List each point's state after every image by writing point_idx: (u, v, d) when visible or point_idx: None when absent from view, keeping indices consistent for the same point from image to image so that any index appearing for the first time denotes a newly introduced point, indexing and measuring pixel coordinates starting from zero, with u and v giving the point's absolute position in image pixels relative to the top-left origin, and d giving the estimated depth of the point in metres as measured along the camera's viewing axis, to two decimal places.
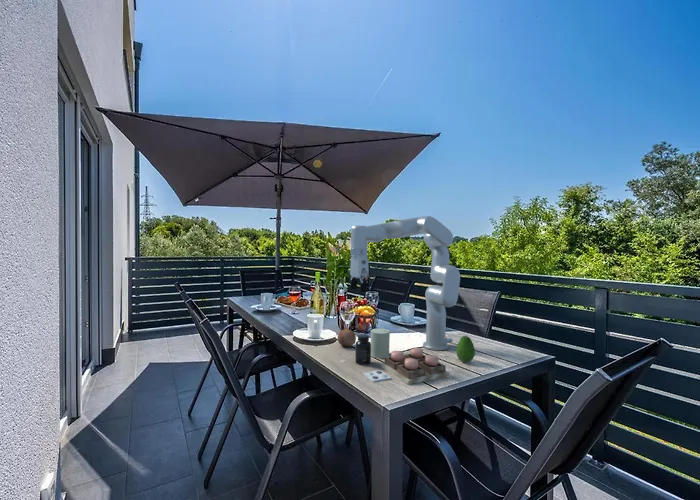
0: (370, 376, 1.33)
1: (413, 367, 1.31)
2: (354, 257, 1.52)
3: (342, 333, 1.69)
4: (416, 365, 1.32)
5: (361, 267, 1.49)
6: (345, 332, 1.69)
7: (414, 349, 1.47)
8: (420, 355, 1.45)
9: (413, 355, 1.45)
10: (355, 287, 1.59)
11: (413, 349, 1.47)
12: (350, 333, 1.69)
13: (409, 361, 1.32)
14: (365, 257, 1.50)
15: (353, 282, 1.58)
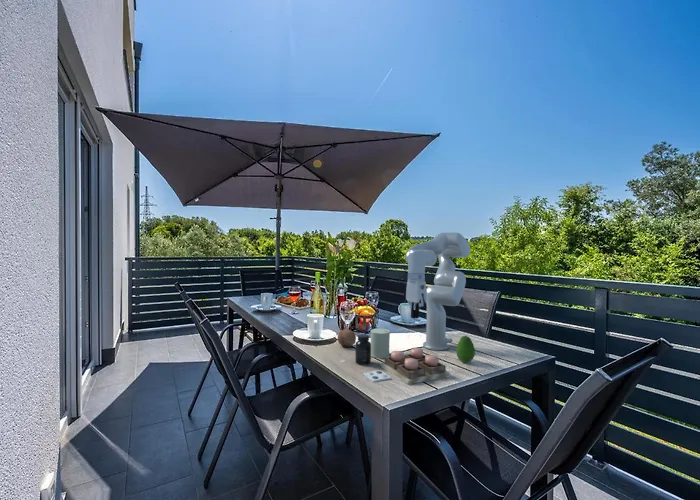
0: (370, 376, 1.33)
1: (413, 367, 1.31)
2: (412, 282, 1.51)
3: (342, 333, 1.69)
4: (416, 365, 1.32)
5: (420, 292, 1.48)
6: (345, 332, 1.69)
7: (414, 349, 1.47)
8: (420, 355, 1.45)
9: (413, 355, 1.45)
10: None
11: (413, 349, 1.47)
12: (350, 333, 1.69)
13: (409, 361, 1.32)
14: (423, 282, 1.49)
15: None
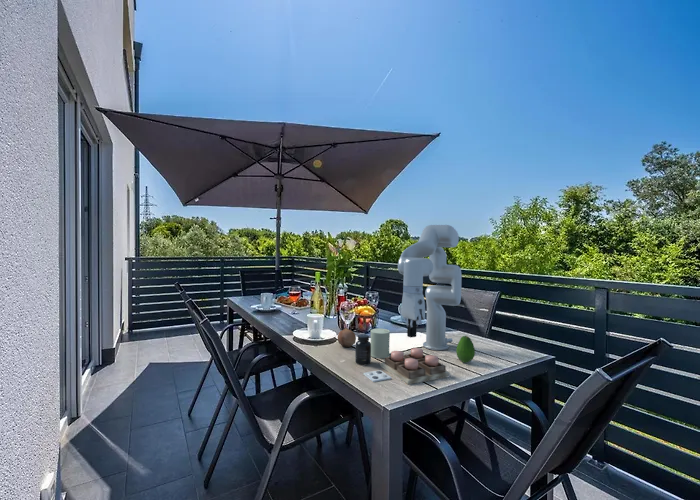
0: (370, 376, 1.33)
1: (413, 367, 1.31)
2: (408, 295, 1.31)
3: (342, 333, 1.69)
4: (416, 365, 1.32)
5: (417, 308, 1.28)
6: (345, 332, 1.69)
7: (414, 349, 1.47)
8: (420, 355, 1.45)
9: (413, 355, 1.45)
10: None
11: (413, 349, 1.47)
12: (350, 333, 1.69)
13: (409, 361, 1.32)
14: (421, 296, 1.29)
15: None
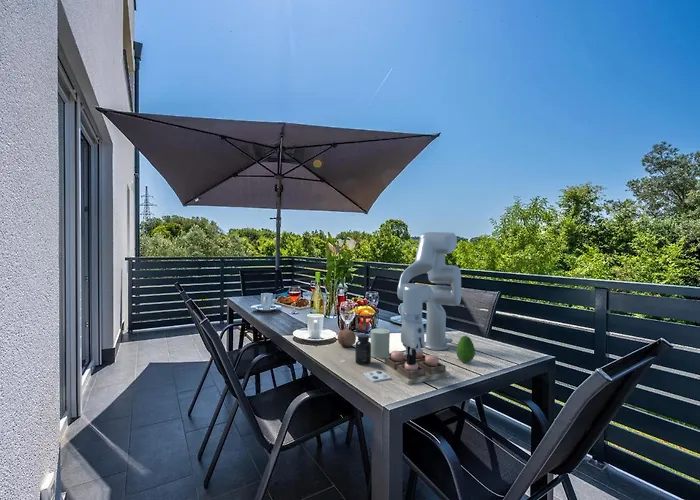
0: (370, 376, 1.33)
1: None
2: (407, 323, 1.32)
3: (342, 333, 1.69)
4: (416, 369, 1.32)
5: (417, 337, 1.28)
6: (345, 332, 1.69)
7: None
8: (420, 355, 1.45)
9: None
10: None
11: None
12: (350, 333, 1.69)
13: (408, 365, 1.32)
14: (421, 324, 1.30)
15: None
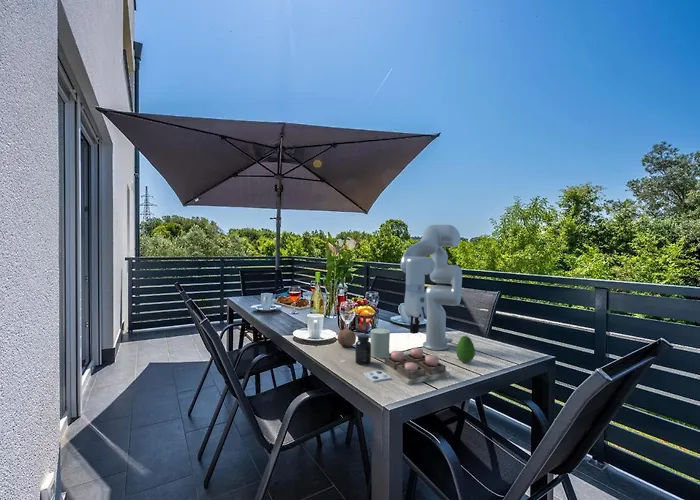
0: (370, 376, 1.33)
1: None
2: (410, 293, 1.36)
3: (342, 333, 1.69)
4: (416, 369, 1.32)
5: (419, 306, 1.33)
6: (345, 332, 1.69)
7: (414, 349, 1.47)
8: (420, 355, 1.45)
9: (413, 355, 1.45)
10: None
11: (413, 349, 1.47)
12: (350, 333, 1.69)
13: (408, 366, 1.32)
14: (423, 294, 1.34)
15: None
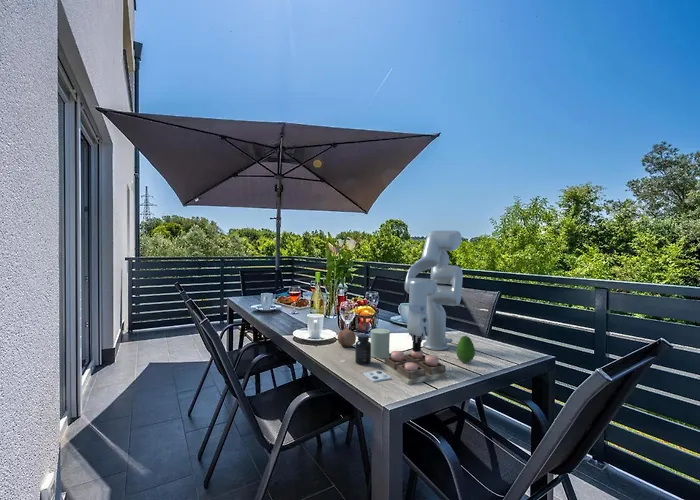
0: (370, 376, 1.33)
1: None
2: (413, 314, 1.45)
3: (342, 333, 1.69)
4: (416, 369, 1.32)
5: (422, 325, 1.42)
6: (345, 332, 1.69)
7: None
8: (420, 356, 1.45)
9: (413, 356, 1.45)
10: None
11: None
12: (350, 333, 1.69)
13: (408, 366, 1.32)
14: (426, 315, 1.43)
15: None
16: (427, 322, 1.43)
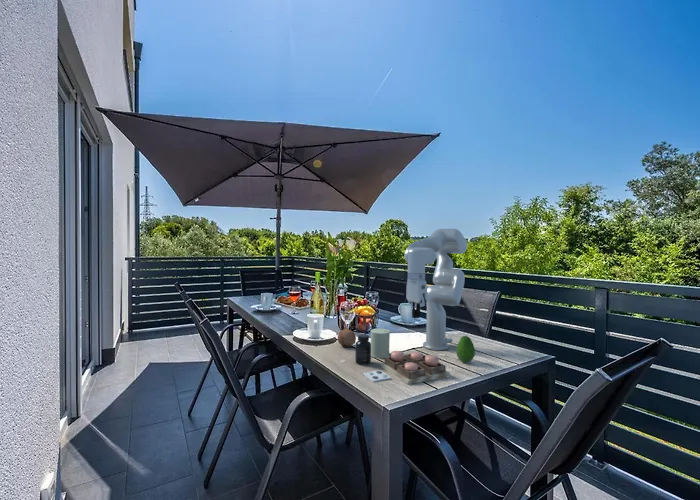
0: (370, 376, 1.33)
1: None
2: (412, 281, 1.48)
3: (342, 333, 1.69)
4: (416, 369, 1.32)
5: (421, 292, 1.45)
6: (345, 332, 1.69)
7: (414, 353, 1.47)
8: None
9: None
10: None
11: (413, 353, 1.47)
12: (350, 333, 1.69)
13: (408, 366, 1.32)
14: (424, 282, 1.46)
15: None
16: (426, 289, 1.46)
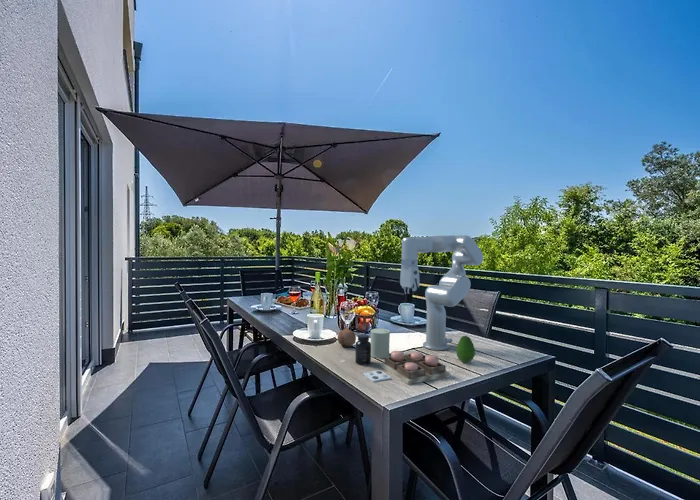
0: (370, 376, 1.33)
1: None
2: (405, 268, 1.59)
3: (342, 333, 1.69)
4: (416, 369, 1.32)
5: (413, 277, 1.56)
6: (345, 332, 1.69)
7: (414, 353, 1.47)
8: None
9: None
10: None
11: (413, 353, 1.47)
12: (350, 333, 1.69)
13: (408, 366, 1.32)
14: (416, 268, 1.57)
15: None
16: (418, 274, 1.57)
